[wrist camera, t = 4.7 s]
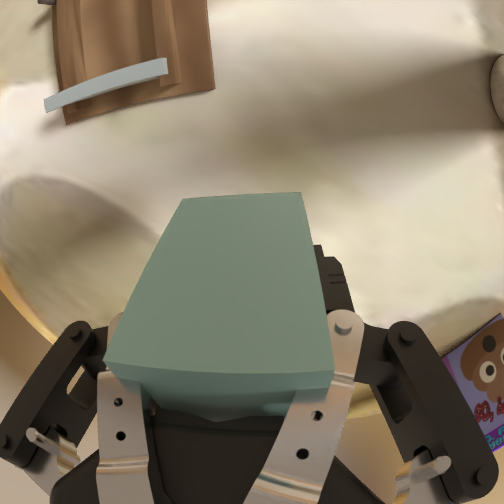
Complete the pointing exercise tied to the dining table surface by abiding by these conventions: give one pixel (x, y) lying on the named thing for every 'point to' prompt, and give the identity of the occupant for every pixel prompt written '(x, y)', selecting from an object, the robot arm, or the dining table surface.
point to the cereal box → (482, 378)
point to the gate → (108, 83)
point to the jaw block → (228, 310)
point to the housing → (130, 48)
